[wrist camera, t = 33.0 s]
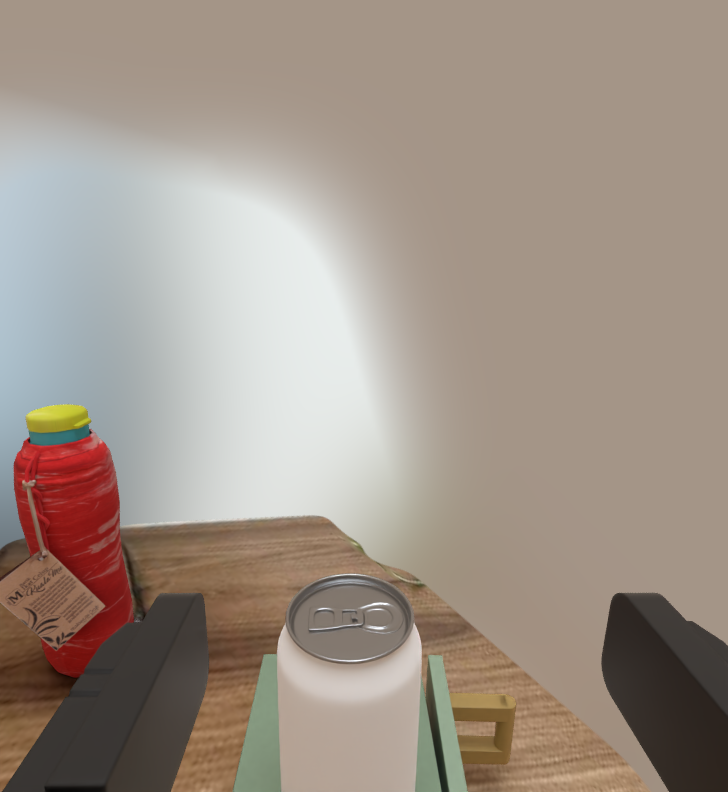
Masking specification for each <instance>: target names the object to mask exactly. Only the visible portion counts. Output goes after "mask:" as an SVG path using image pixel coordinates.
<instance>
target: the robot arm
mask: <svg viewBox="0 0 728 792" xmlns="http://www.w3.org/2000/svg"><path fill="white" fill-rule="evenodd" d="M208 671H209V654H208V641H207V629H206V616H205V604H204V598H203V595H202V594H201V593H161V594H160V595H159V596H158V597H157V598H156V600H155V601H154V603H153V605H152V606H151V608H150V610H149V611H148V613H147V615H146V616H145V618H144V620H143V621H142V622H133V623H126V624H125V625H124V626H122V627H121V628H120V629H119V630H118V631H116V632H115V633H114V634H113V635H111V636H110V637H109V638H108V639H107V640H105V641H104V642H103V643H102V644H101V645H100V647H99V648H98V650H97V651H96V653H95V654H94V656H93V657H92V659H91V660H90V662H89V663H88V665H87V666H86V668H85V669H84V674H81V675H80V677H79V678H78V680H77V681H76V683H75V684H74V686H73V687H72V689H71V690H70V694H69V696H68V697H65V699H64V700H63V702H62V703H61V705H60V706H59V708H58V709H57V711H56V712H55V714H54V715H53V717H52V718H51V720H50V721H49V723H48V724H47V726H46V727H45V729H44V730H43V732H42V733H41V735H40V736H39V738H38V739H37V741H36V742H35V744H34V745H33V747H32V748H31V750H30V751H29V753H28V754H27V756H26V757H25V759H24V760H23V762H22V763H21V765H20V766H19V768H18V769H17V771H16V772H15V773H14V775H13V776H12V778H11V779H10V781H9V782H8V784H7V785H6V787H5V788H4V790H3V791H2V792H171V789H172V786H173V784H174V781H175V778H176V775H177V772H178V769H179V766H180V763H181V761H182V758H183V755H184V752H185V749H186V746H187V743H188V740H189V737H190V735H191V732H192V729H193V726H194V723H195V720H196V717H197V714H198V712H199V709H200V706H201V703H202V700H203V697H204V694H205V690H206V685H207V679H208ZM602 671H603V677H604V681H605V684H606V687H607V689H608V691H609V693H610V695H611V697H612V699H613V700H614V702H615V704H616V705H617V707H618V708H619V710H620V712H621V713H622V715H623V717H624V718H625V720H626V722H627V723H628V725H629V727H630V728H631V730H632V731H633V733H634V735H635V736H636V738H637V740H638V741H639V743H640V745H641V746H642V748H643V749H644V751H645V753H646V754H647V756H648V758H649V759H650V761H651V763H652V764H653V766H654V767H655V769H656V771H657V772H658V774H659V776H660V777H661V779H662V781H663V782H664V784H665V786H666V787H667V789H668V791H669V792H728V646H727V645H726V644H725V643H724V642H723V641H722V640H720V639H718V638H717V637H716V636H714V635H712V634H711V633H709V632H708V631H706V630H705V629H703V628H701V627H700V626H699V625H697V624H696V623H694V622H692V621H686V620H685V619H684V618H683V617H682V615H681V614H680V613H679V612H678V611H677V610H676V609H675V608H674V607H673V606H672V605H671V604H670V603H669V602H668V601H667V600H666V599H665V598H664V597H663V596H662V595H660V594H658V593H617V594H615V595H614V596H613V598H612V600H611V605H610V611H609V617H608V623H607V628H606V634H605V640H604V646H603V652H602Z"/></svg>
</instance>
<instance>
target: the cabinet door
mask: <svg viewBox="0 0 728 792" xmlns="http://www.w3.org/2000/svg"><path fill="white" fill-rule="evenodd" d="M426 705H427V711H428V716H429V722H430V728H431V733H432V739H433V745H434V751H435V756H436V762H437V768H438V774H439V779H440V785H441V791H442V792H468V790H467V785H466V780H465V775H464V769H463V764H507V763H508V762H509V760H510V752H511V744H512V736H513V727H514V719H515V711H516V701H515V699H514V698H513V697H512V696H510V695H507V694H474V693H449V690H448V685H447V680H446V674H445V669H444V664H443V658H442V656H440V655H428V668H427V684H426ZM454 721H483V722H496V727H495V736H462V735H457V732H456V727H455V722H454Z"/></svg>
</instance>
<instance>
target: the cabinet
mask: <svg viewBox="0 0 728 792" xmlns="http://www.w3.org/2000/svg"><path fill="white" fill-rule="evenodd" d="M233 792H281V771H280V743H279V714H278V679H277V654H264V656H263V661H262V665H261V669H260V674H259V678H258V683H257V687H256V691H255V696H254V700H253V705H252V709H251V713H250V718H249V722H248V726H247V731H246V735H245V740H244V744H243V748H242V753H241V757H240V761H239V766H238V770H237V775H236V779H235V783H234V788H233ZM415 792H442V791H441V785H440V779H439V774H438V768H437V762H436V756H435V751H434V745H433V739H432V733H431V728H430V722H429V716H428V711H427V705H426V699H425V693H424V688H423V682H422V676H421V687H420V707H419V727H418V746H417V765H416V782H415Z"/></svg>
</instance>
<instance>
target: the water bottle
mask: <svg viewBox="0 0 728 792" xmlns="http://www.w3.org/2000/svg"><path fill="white" fill-rule="evenodd" d="M26 422H27V428H28V429H29V435H30V437H29V438H28V439H27V440H25V441H24V443H23V446H22V449H21V451H19V452H18V454H17V456H16V459H15V462H14V490H15V496H16V501H17V508H18V514H19V519H20V523H21V526H22V529H23V532H24V535H25V538H26V542H27V545H28V548H29V552H30V557H29V558H28V559H26V560H25V561H24V562H22V563H21V564H19V565H18V566H16V567H15V568H14V569H12V570H11V571H9V572H8V573H6V574H5V575H4V576H2V577H1V578H0V603H1V604H3V605H4V606H5V607H6V608H7V609H8V610H9V611H11V612H12V613H13V614H14V615H15V616H16V617H18V618H19V619H20V620H21V621H22V622H23V623H24V624H26V625H27V626H28V627H29V628H30V629H31V630H33V631H34V632H35V633H36V634H37V635H38V636H39V637H41V642H42V647H43V650H44V653H45V655H46V658H47V660H48V662H49V663H50V664H51V665H52V666H53V667H54V669H55V670H56V671H57V672H59V673H61V674H64V675H67V676H70V677H74V678H77V677H80V675H81V674H84V669H85V668H86V666H87V665H88V663H89V662H90V660H91V659H92V657H93V656H94V654H95V653H96V651H97V650H98V648H99V647H100V645H101V644H102V643H103V642H104V641H105V640H107V639H108V638H109V637H110V636H111V635H113V634H114V633H115V632H116V631H118V630H119V629H120V628H121V627H122V626H124V625H125V624H126V623H133V622H134V618H133V607H132V598H131V593H130V589H129V584H128V579H127V575H126V570H125V565H124V561H123V556H122V548H121V539H120V513H119V512H120V502H119V493H118V486H117V478H116V471H115V468H114V464H113V460H112V456H111V453H110V450H109V449H108V448H107V446H106V444H105V443H104V442H103V441H102V440H101V439H100V438H99V437H98V436H97V435H96V433H95V432H94V431H93V430H91V429H89V425H88V424H89V423H91V419H89V418H88V411H87V410H86V409H85V408H84V407H83V406H78V405H68V404H67V405H54V406H48V407H44V408H40V409H37V410H34V411H32V412H30V413H29V414H27V415H26Z"/></svg>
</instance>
